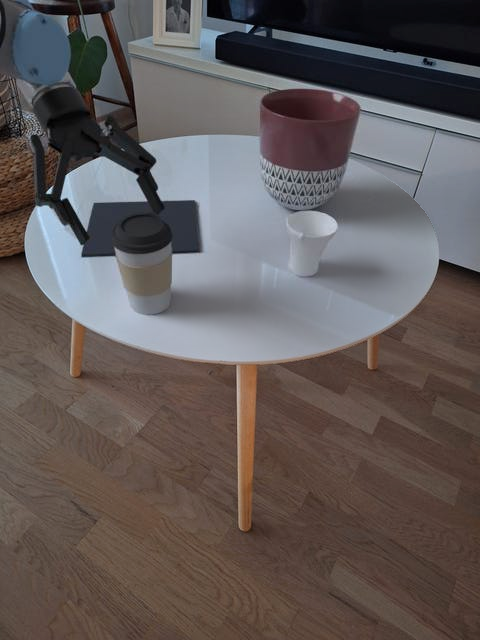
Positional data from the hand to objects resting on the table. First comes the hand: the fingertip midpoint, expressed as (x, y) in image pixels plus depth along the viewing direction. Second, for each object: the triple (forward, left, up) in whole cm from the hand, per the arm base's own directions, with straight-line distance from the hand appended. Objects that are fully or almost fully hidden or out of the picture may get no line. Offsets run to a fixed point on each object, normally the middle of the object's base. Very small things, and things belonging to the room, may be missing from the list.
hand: (124, 226), depth 72 cm
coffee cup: (+3, -4, -12) cm, 13 cm away
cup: (+31, +3, -12) cm, 33 cm away
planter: (+35, +28, -12) cm, 46 cm away
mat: (+1, +20, -12) cm, 23 cm away
